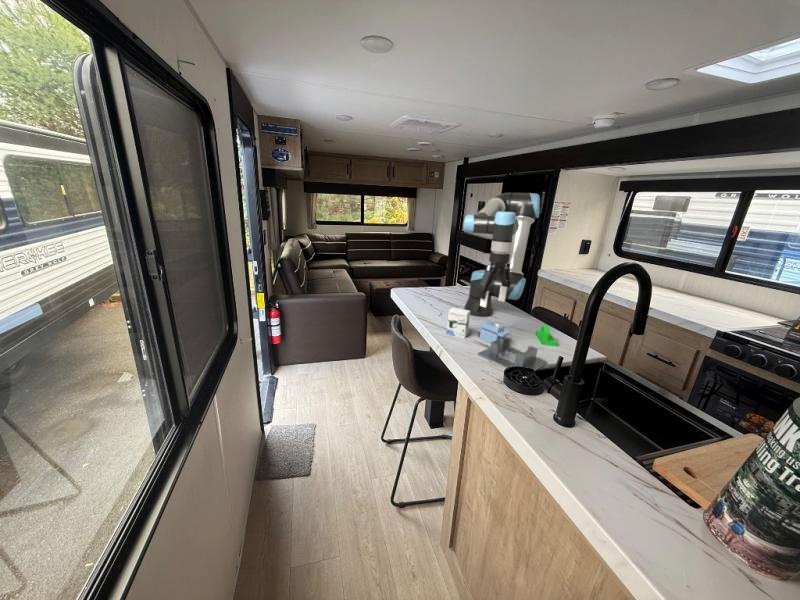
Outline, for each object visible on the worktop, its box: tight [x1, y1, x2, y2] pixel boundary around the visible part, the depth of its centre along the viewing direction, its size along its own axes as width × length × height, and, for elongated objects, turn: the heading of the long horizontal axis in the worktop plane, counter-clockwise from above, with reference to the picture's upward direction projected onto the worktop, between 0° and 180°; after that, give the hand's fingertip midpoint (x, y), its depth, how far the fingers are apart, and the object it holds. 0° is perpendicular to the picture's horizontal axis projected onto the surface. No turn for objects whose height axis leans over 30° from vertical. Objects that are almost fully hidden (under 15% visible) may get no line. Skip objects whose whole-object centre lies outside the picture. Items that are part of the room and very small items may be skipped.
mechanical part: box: [534, 324, 558, 347], centre depth 136 cm, size 12×6×8 cm, turn 170°
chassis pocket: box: [477, 336, 548, 372], centre depth 117 cm, size 16×20×6 cm
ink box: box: [445, 306, 471, 340], centre depth 135 cm, size 8×5×12 cm, turn 62°
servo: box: [476, 320, 510, 345], centre depth 131 cm, size 5×13×9 cm, turn 41°
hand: (492, 303), depth 127 cm, fingers open, 13 cm apart
